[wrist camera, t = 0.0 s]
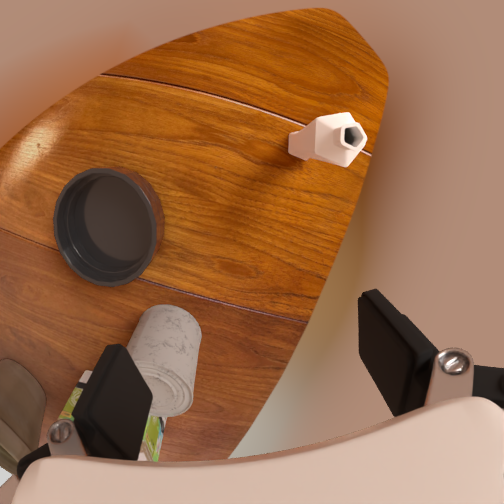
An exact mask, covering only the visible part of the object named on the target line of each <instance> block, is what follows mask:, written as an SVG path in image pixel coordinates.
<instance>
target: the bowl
mask: <svg viewBox="0 0 504 504" xmlns="http://www.w3.org/2000/svg"><path fill="white" fill-rule="evenodd" d="M164 220H165V217H164V213H163V209H162V206H161V202H160V199H159V197H158V196H157V194H156V192H155V191H154V189H153V188H152V186H151V185H150V183H149V182H148V181H146V180H145V179H144V178H143V177H142V176H140V175H139V174H138V173H137V172H134V171H132V170H129V169H126V168H123V167H99V168H91V169H89V170H86V171H84V172H82V173H79V174H77V175H76V176H75V177H74V178H73V179H71V180H70V181H69V182H68V183H67V184H66V185H65V186H64V188H63V190H62V192H61V194H60V196H59V198H58V200H57V202H56V206H55V211H54V217H53V224H54V236H55V239H56V242H57V245H58V248H59V251H60V253H61V255H62V256H63V258H64V259H65V261H66V262H67V264H68V265H69V267H70V268H71V269H72V270H73V271H74V272H76V273H77V274H78V275H79V276H80V277H81V278H83V279H85V280H87V281H89V282H91V283H93V284H96V285H100V286H108V287H115V286H119V285H124V284H127V283H129V282H131V281H132V280H134V279H135V278H137V277H138V276H140V275H141V274H142V273H143V271H144V270H145V269H146V267H147V266H148V265H149V263H150V262H151V260H152V259H153V258H154V256H155V255H156V254H157V252H158V251H159V249H160V246H161V243H162V240H163V237H164Z"/></svg>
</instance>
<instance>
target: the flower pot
mask: <svg viewBox="0 0 504 504" xmlns="http://www.w3.org/2000/svg"><path fill="white" fill-rule="evenodd" d="M45 406H46V396H45V393H44V391H43V389H42V387H41V386H40V384H39V383H38V381H37V380H36V379H35V378H34V377H33V376H32V375H31V374H30V373H29V371H27V370H26V369H25V368H24V367H23V366H21V365H20V364H18V363H17V362H15V361H13V360H10V359H3V360H0V466H1V467H2V468H3V469H5V470H6V471H8V472H10V473H11V474H14V473H15V474H16V475H17V465H18V462H19V460H20V459H21V458H23V457H24V456H26V455H28V454H29V453H31V452H33V451H35V450H36V449H38V445H39V439H40V433H41V427H42V421H43V416H44V412H45Z"/></svg>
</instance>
